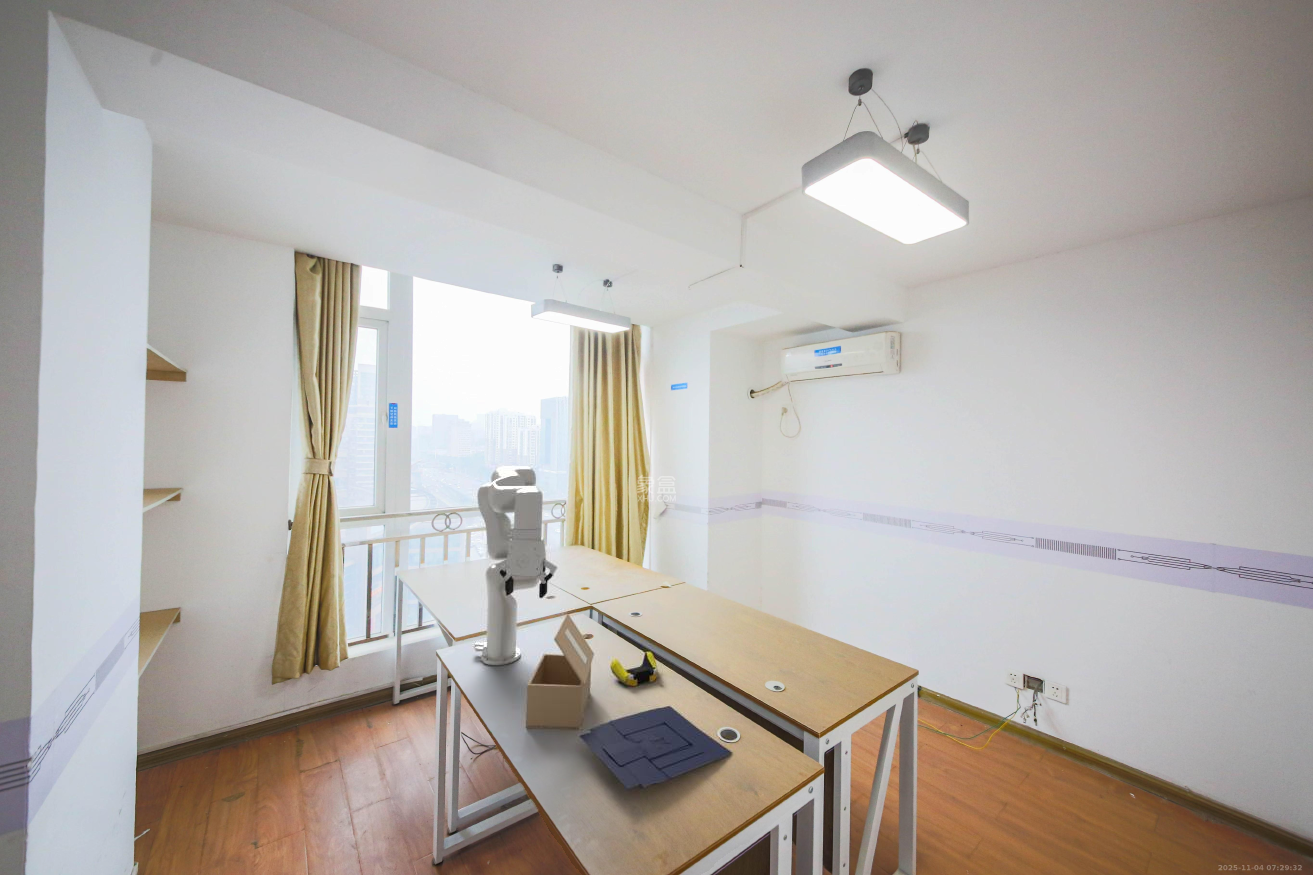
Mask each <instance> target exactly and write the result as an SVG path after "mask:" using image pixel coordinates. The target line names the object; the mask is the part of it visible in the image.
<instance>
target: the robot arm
mask: <svg viewBox="0 0 1313 875" xmlns="http://www.w3.org/2000/svg"><path fill="white" fill-rule="evenodd" d="M536 476H537V475H536V473H535V470H534V469H533V468H531V467H530V466H501V467H498V468H496V469H495V470H493V472H492V474H491V478H490V479H491V483H485V484H483V485H481V486H480V487H479V488H478V490H477V496H476V497H477V505H478V509H479V512H480V514H481V516H482V519H483V521H484V523H485V524H484V525H485V532H486V545H487V553H488V556H489V558H490V559H491V560H492V561H496V562H497V561H500V562H498V563H494V564H492V565H490V566H489V567H488V568H486V569H487V570H486V571H485V585H486V594H487V608H486V609H487V611H486V612H487V615H486V617H487V619H486V641H485V642H475V643H474V646H473V649H474V651H475V652H481V655H480V661H481V662H482V663H483V664H486V665H489V666H502V665H503V666H504V665H509V664H512V663H514V662H515V661H517V660H518V659H519V658H520V657H521V649H520V648H519V647H517V628H518V626H517V625H518V624H517V622H518V603H517V600H516V598H515V597H514V596H513V595H512V594H513V593H514V591H520V590H521V591H522V590H526V589H532V588H535V587H536V586H537V585H538V587H539V589H538V590H539V592H538V597H539V598H540V599H543V598H544V597H545V596H546V595H547V593H548V582H549V581H550V580H551V579H552V578H553V577H554V575H555V574H556V571H557V570H558V567H557V565H555V564H553V563H552V562H550V561H549V560H547V555H546V554H547V553H546V545H545V539H544V538H543V537H542V536H543V535H542V532H543V531H542V530H543V526H542V525H543V502H544V501H543V493H542V491H541V490H540V489H539V488H538V487H536V484H537V477H536ZM507 513H510V514H511V513H514V514H513V515H514V516H513V522H514V523H513V527H512V521H511V518H510V517H509V515H508V514H507ZM546 569H548V570H549V572H548V574H547V573H546ZM540 582H541V583H540Z"/></svg>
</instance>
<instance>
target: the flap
mask: <svg viewBox="0 0 1313 875" xmlns="http://www.w3.org/2000/svg"><path fill="white" fill-rule="evenodd" d="M553 640H554V642H555V643H556V645H557V646H558V648H559V649H560V651H561V653H562V655H564V656H565V657H566V659H567V660H568V662H569V663H570V665H571V666H572V668H573V670H574V671H575V673H576V674H577V676H578V677H579V679H580V680H581V682H582V683H583V685H584V684H585V683H586V679H587V676H588V673H589V669H590V666H591V667H592V662H593V659H594V655H595V652H594V651H593V649H592V648H591V647H590V645H589V643H588V642H587V641H586V639H585V637H584V636H583V634H582V633H581V632H580V630H579V628H578V627H577V624H575V622H574V620H573V619H572V617H571V616H570V615H569V613H567V614H566V615H565V617H564V619H563V621H562V622H561V625H560V627H559V628H558V630H557V631H556V634H555V636H554V638H553Z"/></svg>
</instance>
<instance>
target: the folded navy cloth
mask: <svg viewBox="0 0 1313 875" xmlns="http://www.w3.org/2000/svg"><path fill="white" fill-rule="evenodd" d="M587 731H589V732H586V733H583V734H580V735H578V737H579V739H581V740H582V741H583V743H585V744H586V745H587V746H588V747H589V748H590V750H592V751H593V753H594V754H595V755H596V756H597V757H598V758H599V759H600V760H601V761H602V762H603V763H604V764H605V765H606V767H608V769H609V770H610V771H611V772H612V773H613V775H614V776H616V778H617V779H618V780H619V781H620V782H621V784H622V785H623V786H624V787H625V788H626V789H627V790H628V789H631V788H634V787H636V786H638V785H641V786H642V787H643V788H645V787H648V786H650V785H653V784H655V783H658V784H660V783H662V782H665V781H667V780H671V779H673V778H674V777H677V776H679V775H682V774H684V773H687V772H689V771H691V770H694V769H696V768H697V769H698V768H699V767H701V766H704V765H706V764H709V763H711V762H715V761H718V760H720V759H723V758H725V757H726V756H728V755H730V754H733V752H732V751H731V750H729V749H728V748H726V747H725V746H723V745H722V744H721V743H720V742H718V741H717V740H715V739H714V738H712V737H711V736H710V735H708V734H707V733H705V732H704V731H702V730H701V729H700V728H698V727H697V726H696V725H694V724H693V722H691V721H689V720H688V719H687V718H685V717H684V715H682V714H681V713H680V712H678V711H677V710H675V709H674V708H673V707H672V706H670V705H667V706H663V707H656V708H653V709H648V710H645V711H644V710H643V711H642V712H637V713H633V714H630V715H626V716H623V717H620V718H617V719H616V718H615V719H613V720H609V721H607V722H604V723H601V724H599V725H598V726H595V727H592V728H589V729H587Z"/></svg>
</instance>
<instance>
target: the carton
mask: <svg viewBox="0 0 1313 875" xmlns="http://www.w3.org/2000/svg"><path fill="white" fill-rule="evenodd" d="M591 678H592V665H591V666H590V669H589V673H588V676H587V679H586V683H585V684H584V685H583V683H582V682H581V680H580V679H579V677H578V676H577V674H576V673H575V671H574V670H573V668H572V666H571V665H570V663H569V662H568V660H567V659H566V657H565V656H564V654H560V653H559V654H556V653H555V654H554V653H553V654H552V653H550V654H549V653H543V654H542V657H541V658H540V660H539V662H538V664H537V666H536V668H535V670H534V671H533V674H532V676H531V677H530V679H529V681H528V684H527V685H526V688H527V689H526V711H525V712H526V713H525V714H526V715H525V719H526V720H525V728H526V729H548V730H549V729H550V730H573V731H574V730H579V731H580V730H581V728H582V725H583V722H584V719H585V718H584V717H585V715H586V711H587V707H588V703H589V699H590V696H591Z"/></svg>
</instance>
